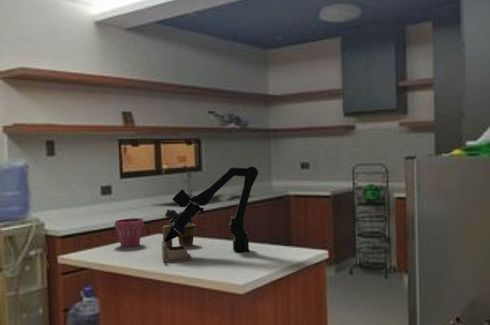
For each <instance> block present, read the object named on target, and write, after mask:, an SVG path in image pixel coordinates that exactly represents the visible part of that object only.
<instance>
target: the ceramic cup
mask: <svg viewBox="0 0 490 325" xmlns="http://www.w3.org/2000/svg"><path fill="white" fill-rule="evenodd" d="M185 230H186V233H185V234H184V235H183V236H182V235H181V236H178V237H177V239H178V244H179V246H185V247H190V246H193V243H194V238H195V237H194V236H195V232H196V224H194V223H189V224H188V225H187V226H186V227H185Z"/></svg>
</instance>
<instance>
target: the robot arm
mask: <svg viewBox="0 0 490 325" xmlns="http://www.w3.org/2000/svg"><path fill="white" fill-rule="evenodd" d="M258 174H259V171H258V169H257V168H256V167H255V166H253V165H250V166H247V167H233V166H231V167H230V168H229V169H228V170H227V171H226V172H224V174H222V176H220V177H219V178H218V179H216V181H215V182H214V183H213V184H212V185H211V186H209V187H207V188H205V189H204V190H202V191H201V192H199V193H198V194H197V195H191V196H190V195H189V194H188V193H187V192H186V191H185V190H184V189H183V188H181V190H179V192H177V193H176V194H175V196H174V197H172V199H171V201H172V202H174V203H175V204H176V205H178V207H179V208H184V209H183V210H182V211H180V212H177V211H176V210H174V209H169V208H167V210H166V212H165V214H164V217H166V218H168V219H169V218H170V220H169V224H168V225H170V226H171V231H170V232H169V234H168V235H167V237H166V238H165V240H164V241H165V242H167V241H169V240H171V239H172V240H174V239H175V238H178V236H181V235H182V236H183V235H184V234H185V233H186V230H185V227H186V226H187V225H188V224H192V223H191V222H193V221H192V220H193V219H195V218H196V216H197V215H198V214H199V213H201V214H204V213H205V212H204V209H205V208H204V207H203V206H206V205H207V204H208V203H209V202H210V201H211V199H212V198H213V197H214V195H215V194H216V193H217V192H218V191H220V189H221V188H222V187H224V185H226V184H227V183H228V182H230V180H231V179H232V178H234V177H244V178H243V187H242V191H241V194H240V197H239V198H240V199H239V202H238V206H237V208H236V213H235V214H234V216H230V217H231V218H230V222H229V223H228V226H229V229H230V230H229V231H230V233H231V234H232V235H233V240H232V250H233V251H234V252H235V253H244V252H250V251H251V250H250V247H249V246H250V245H249V243H250V242H249V235H248V231H247V230H246V229H245V228H244V218H245V214H246V209H247V207H248V206H247V205H248V203H249V198H250V195H251V191H252V188H253V185H254V183H255V181H256V180H257V178H258ZM195 203H196V204H195Z"/></svg>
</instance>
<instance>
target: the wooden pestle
mask: <svg viewBox="0 0 490 325" xmlns="http://www.w3.org/2000/svg"><path fill="white" fill-rule="evenodd" d="M170 231H171V226H170V225H169V224H168V225H162V238H163V239H162V241H164V240H165V238H166V237H167V235H168V234H169V232H170ZM164 243H165V246H166V247H173V239H171V240H169V241H167V242H165V241H164ZM166 255H167V252H166Z"/></svg>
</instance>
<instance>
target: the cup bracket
mask: <svg viewBox="0 0 490 325" xmlns="http://www.w3.org/2000/svg"><path fill="white" fill-rule="evenodd" d="M166 252H167V255H166ZM161 258H162V262H163V264H168V263H181V262H182V263H183V262H189V261H190V262H192V261H193V258H192V256H191V255H190V253H188V248H187V246H180V245H179V246H172V247H166V246H165V243H164V241H163V240H161Z"/></svg>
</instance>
